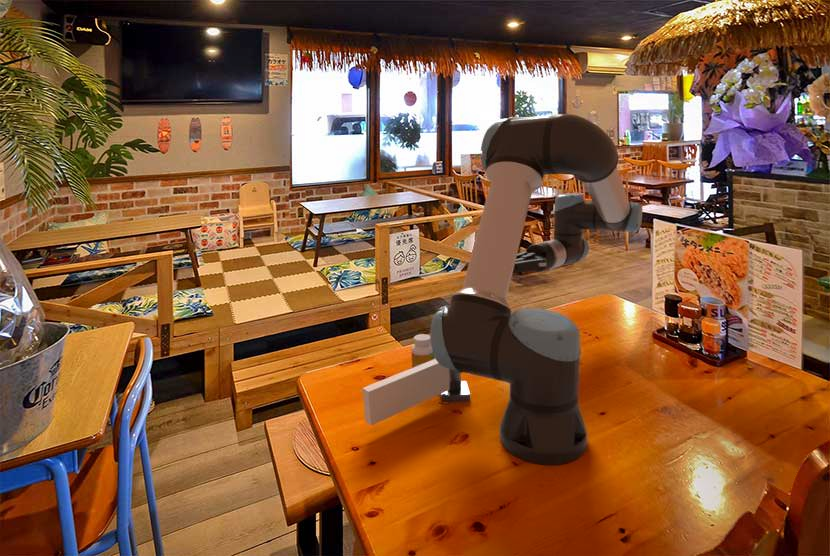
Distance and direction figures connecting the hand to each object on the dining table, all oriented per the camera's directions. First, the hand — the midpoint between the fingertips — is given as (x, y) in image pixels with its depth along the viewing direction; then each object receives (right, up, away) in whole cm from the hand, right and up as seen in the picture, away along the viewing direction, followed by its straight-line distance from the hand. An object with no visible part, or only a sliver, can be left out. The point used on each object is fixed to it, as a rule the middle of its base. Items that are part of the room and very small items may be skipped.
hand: (481, 271), depth 119 cm
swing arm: (-17, -27, -20) cm, 38 cm away
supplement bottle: (-14, -25, -3) cm, 28 cm away
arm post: (-7, -27, -12) cm, 30 cm away
